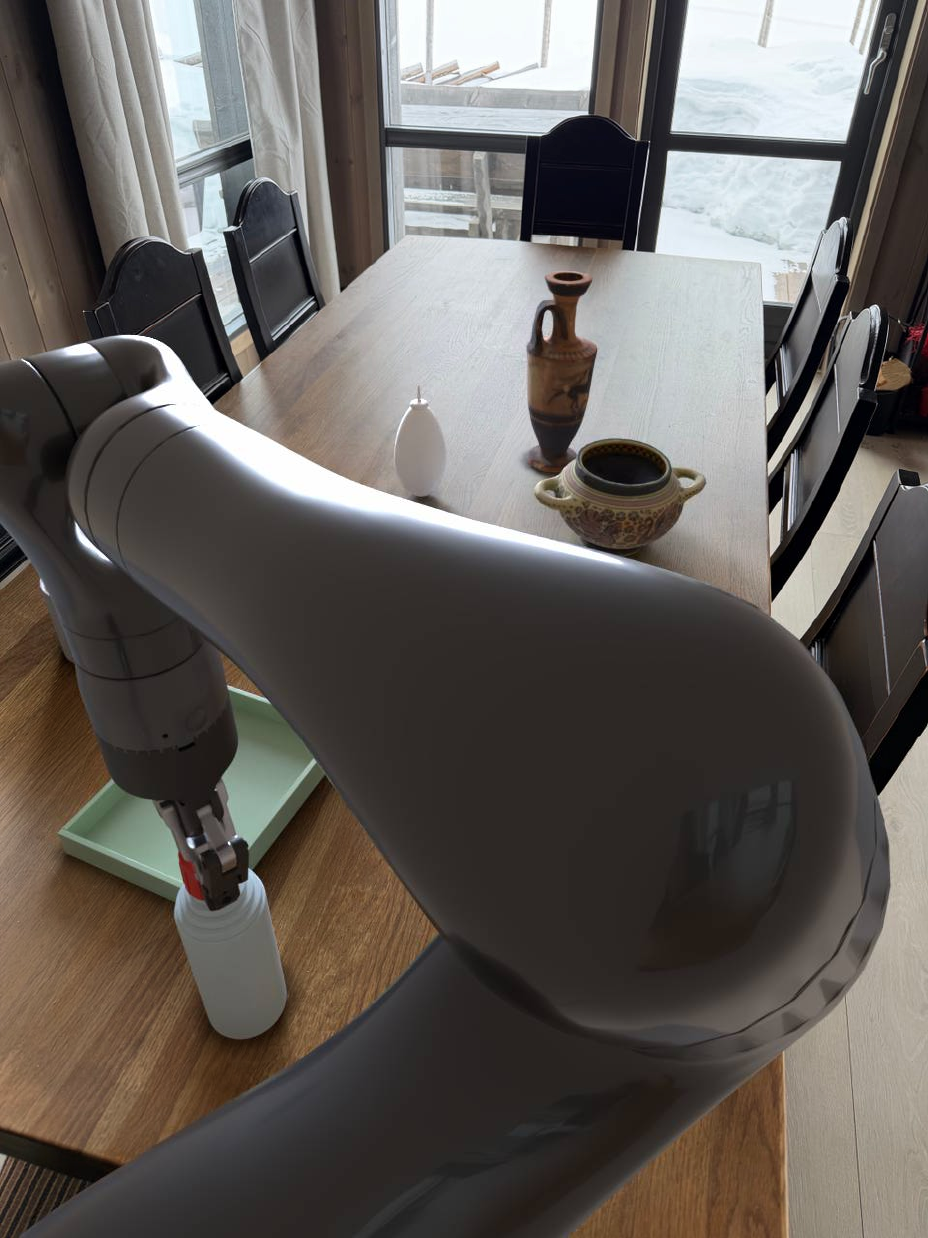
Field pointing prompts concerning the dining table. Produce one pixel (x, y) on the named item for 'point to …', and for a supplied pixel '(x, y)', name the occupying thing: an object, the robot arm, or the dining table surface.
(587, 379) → the vase
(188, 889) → the cap
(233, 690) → the tray
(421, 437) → the sauce bottle
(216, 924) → the bottle
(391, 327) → the dining table surface
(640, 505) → the ceramic bowl
